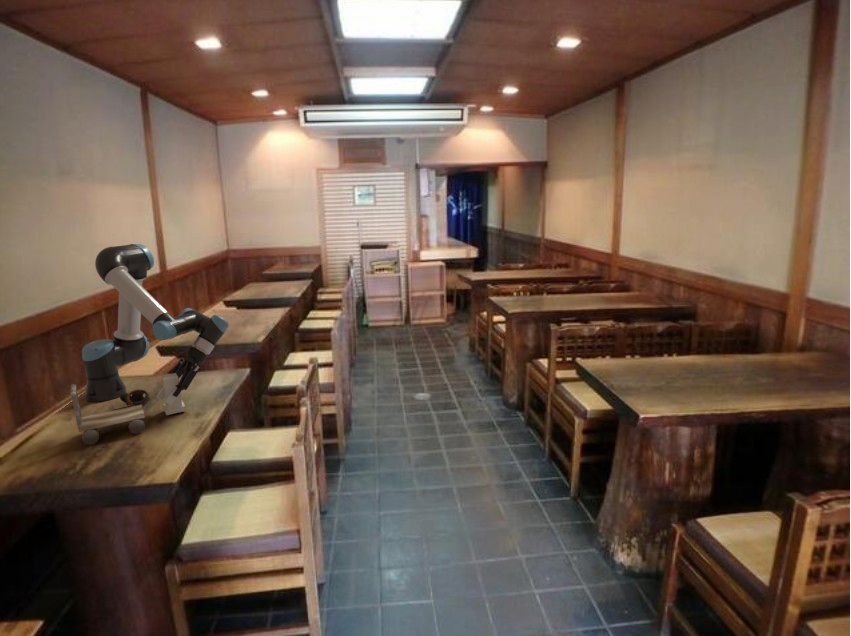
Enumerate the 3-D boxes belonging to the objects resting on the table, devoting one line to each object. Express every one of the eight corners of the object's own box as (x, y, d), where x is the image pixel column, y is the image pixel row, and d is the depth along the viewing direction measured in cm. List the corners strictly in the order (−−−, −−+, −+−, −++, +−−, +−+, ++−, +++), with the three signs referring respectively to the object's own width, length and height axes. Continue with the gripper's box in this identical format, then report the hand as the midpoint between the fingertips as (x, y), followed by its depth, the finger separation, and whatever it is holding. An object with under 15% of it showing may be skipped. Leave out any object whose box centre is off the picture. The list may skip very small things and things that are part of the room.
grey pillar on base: (163, 409, 206) (158, 375, 202) (183, 405, 209) (178, 372, 206) (166, 415, 200) (160, 380, 196) (185, 410, 203) (181, 377, 200)
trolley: (80, 433, 188) (70, 383, 183) (143, 419, 198) (135, 371, 194) (80, 447, 177) (69, 393, 173) (147, 431, 188) (138, 380, 183)
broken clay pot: (156, 402, 217) (154, 389, 211) (145, 420, 209) (143, 407, 204) (126, 396, 215) (123, 383, 210) (114, 414, 208) (111, 401, 203)
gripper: (218, 360, 204) (182, 411, 197) (195, 350, 218) (161, 398, 210) (204, 350, 199) (166, 403, 192) (181, 341, 213) (145, 390, 205)
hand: (163, 400), depth 201 cm, fingers closed on grey pillar on base, 7 cm apart
